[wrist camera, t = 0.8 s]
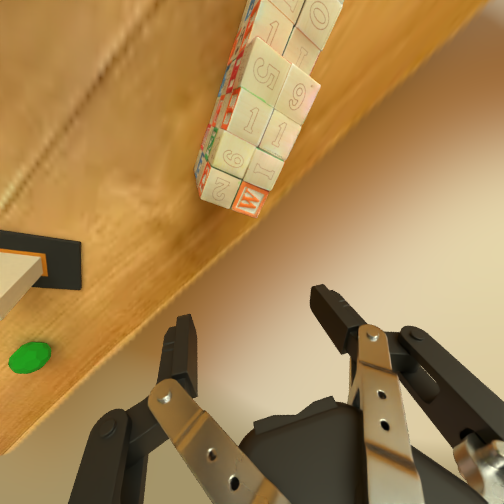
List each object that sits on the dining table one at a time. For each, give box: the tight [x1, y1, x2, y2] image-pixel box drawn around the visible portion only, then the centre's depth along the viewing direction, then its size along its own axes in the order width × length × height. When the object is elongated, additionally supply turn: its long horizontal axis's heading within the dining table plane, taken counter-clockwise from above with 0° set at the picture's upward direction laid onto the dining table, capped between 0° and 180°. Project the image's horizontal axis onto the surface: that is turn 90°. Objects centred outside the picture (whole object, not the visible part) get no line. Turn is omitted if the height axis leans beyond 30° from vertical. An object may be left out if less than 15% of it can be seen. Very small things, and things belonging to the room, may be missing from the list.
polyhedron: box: [8, 342, 51, 374], centre depth 35 cm, size 5×5×5 cm
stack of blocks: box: [194, 0, 344, 218], centre depth 20 cm, size 21×6×12 cm, turn 154°
